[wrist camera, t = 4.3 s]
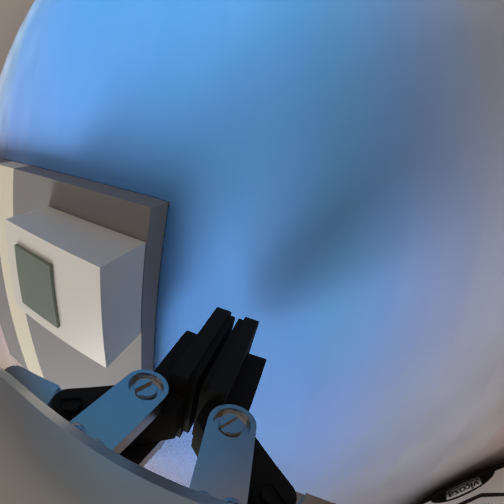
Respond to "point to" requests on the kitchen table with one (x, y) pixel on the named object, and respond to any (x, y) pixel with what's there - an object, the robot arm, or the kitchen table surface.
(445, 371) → the kitchen table surface
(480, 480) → the milk container
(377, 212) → the kitchen table surface
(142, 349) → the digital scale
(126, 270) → the block
